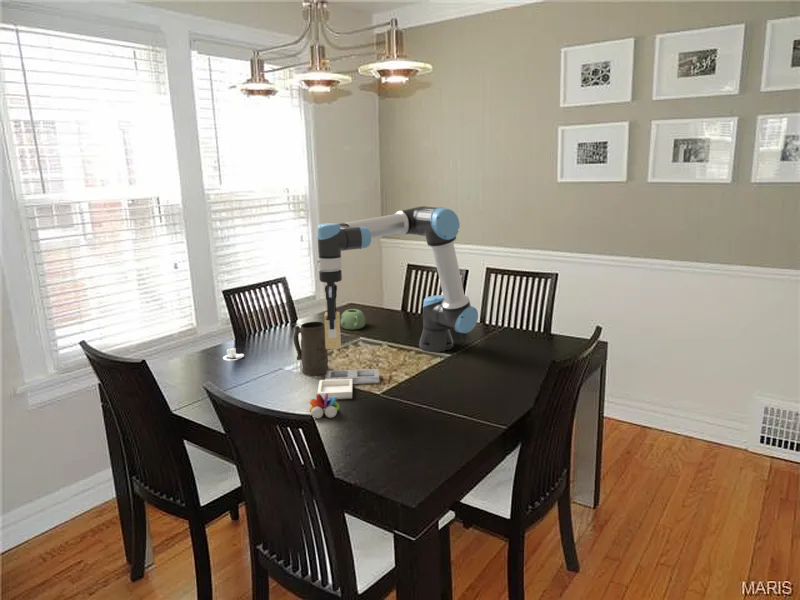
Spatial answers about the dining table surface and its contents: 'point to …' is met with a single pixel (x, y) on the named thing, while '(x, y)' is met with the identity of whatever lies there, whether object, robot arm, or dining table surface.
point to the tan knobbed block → (335, 342)
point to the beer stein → (312, 348)
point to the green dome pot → (352, 319)
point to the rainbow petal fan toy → (324, 406)
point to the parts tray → (336, 388)
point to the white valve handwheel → (233, 354)
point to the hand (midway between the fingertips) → (332, 334)
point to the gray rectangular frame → (355, 375)
